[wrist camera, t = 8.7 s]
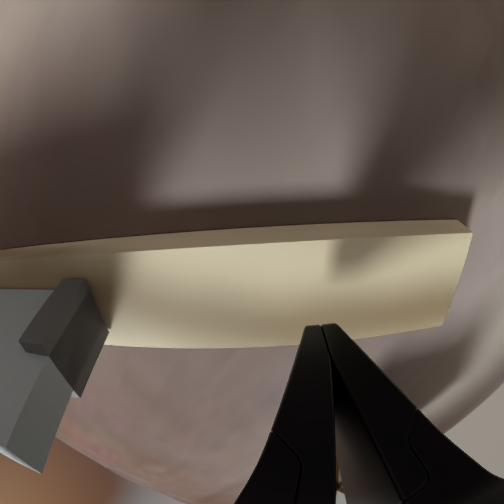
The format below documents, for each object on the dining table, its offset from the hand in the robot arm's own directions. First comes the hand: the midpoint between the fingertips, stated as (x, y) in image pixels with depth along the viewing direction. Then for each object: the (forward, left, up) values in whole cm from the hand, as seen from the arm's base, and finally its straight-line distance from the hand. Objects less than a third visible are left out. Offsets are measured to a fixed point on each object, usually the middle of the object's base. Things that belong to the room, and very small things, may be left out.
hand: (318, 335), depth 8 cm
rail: (0, +8, -2) cm, 8 cm away
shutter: (0, +13, -1) cm, 13 cm away
